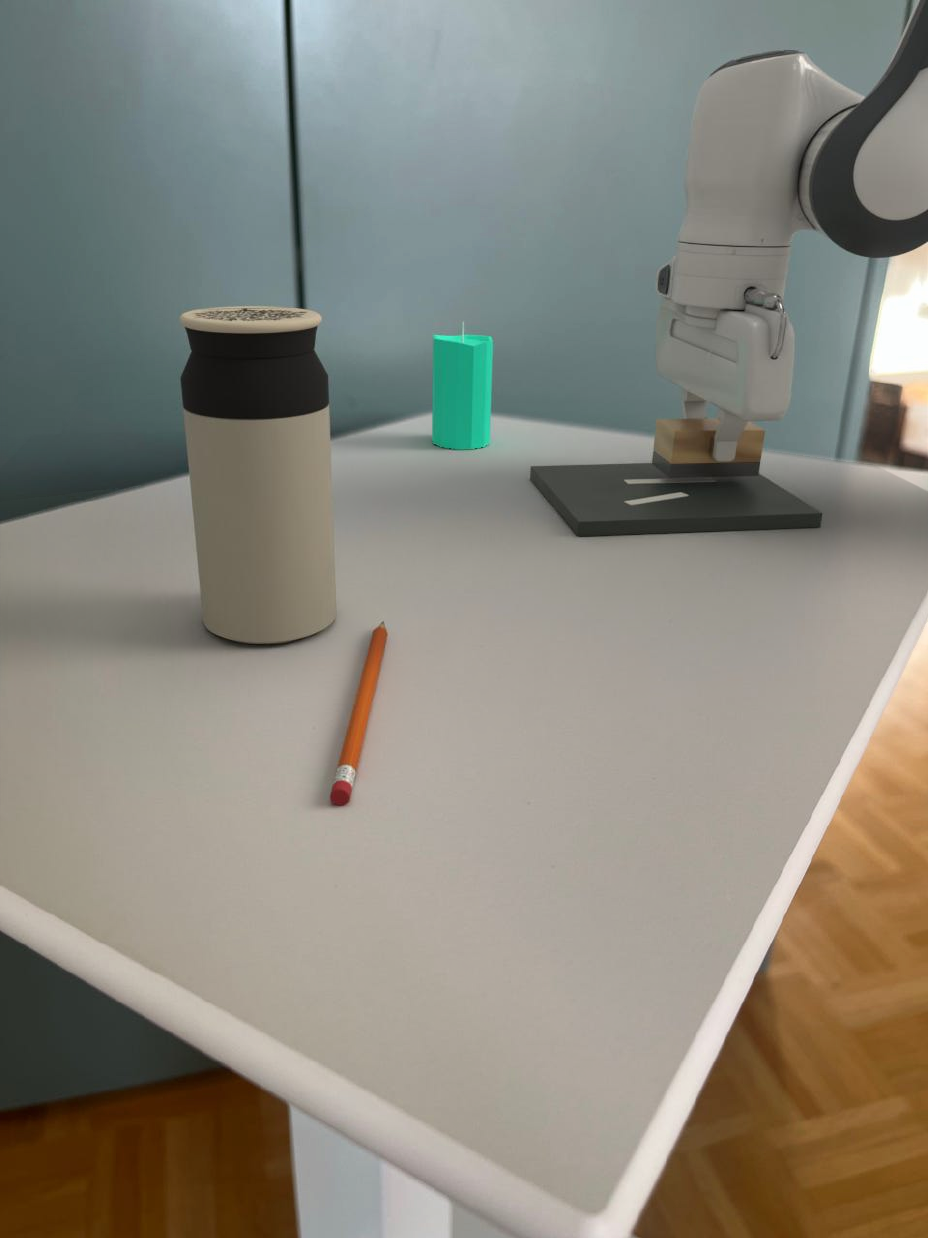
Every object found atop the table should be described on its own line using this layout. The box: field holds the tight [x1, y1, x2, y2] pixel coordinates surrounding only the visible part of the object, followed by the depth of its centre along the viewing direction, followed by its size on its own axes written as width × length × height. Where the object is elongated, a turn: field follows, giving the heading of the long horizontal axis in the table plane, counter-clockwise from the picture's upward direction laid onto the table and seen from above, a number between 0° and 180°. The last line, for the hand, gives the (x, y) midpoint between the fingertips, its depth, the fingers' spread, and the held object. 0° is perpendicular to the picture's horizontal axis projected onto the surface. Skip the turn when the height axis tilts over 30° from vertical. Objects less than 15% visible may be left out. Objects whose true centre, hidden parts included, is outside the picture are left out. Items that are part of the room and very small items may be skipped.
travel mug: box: [179, 305, 337, 645], centre depth 57 cm, size 8×8×18 cm
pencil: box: [329, 620, 388, 807], centre depth 52 cm, size 1×19×1 cm, turn 179°
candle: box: [431, 321, 494, 450], centre depth 100 cm, size 6×6×12 cm
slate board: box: [529, 462, 823, 537], centre depth 85 cm, size 20×16×1 cm
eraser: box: [651, 417, 766, 478], centre depth 86 cm, size 8×4×4 cm, turn 100°
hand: (707, 450), depth 86 cm, fingers closed on eraser, 4 cm apart
